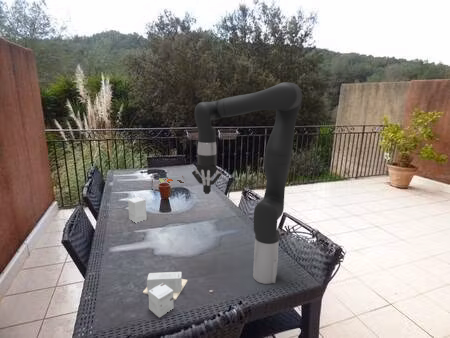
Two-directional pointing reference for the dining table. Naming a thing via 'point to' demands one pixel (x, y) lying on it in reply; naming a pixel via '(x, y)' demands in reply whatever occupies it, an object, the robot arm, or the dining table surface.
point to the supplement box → (137, 209)
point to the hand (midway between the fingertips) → (207, 193)
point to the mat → (175, 294)
